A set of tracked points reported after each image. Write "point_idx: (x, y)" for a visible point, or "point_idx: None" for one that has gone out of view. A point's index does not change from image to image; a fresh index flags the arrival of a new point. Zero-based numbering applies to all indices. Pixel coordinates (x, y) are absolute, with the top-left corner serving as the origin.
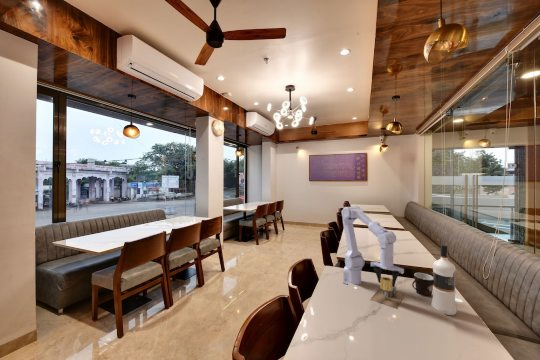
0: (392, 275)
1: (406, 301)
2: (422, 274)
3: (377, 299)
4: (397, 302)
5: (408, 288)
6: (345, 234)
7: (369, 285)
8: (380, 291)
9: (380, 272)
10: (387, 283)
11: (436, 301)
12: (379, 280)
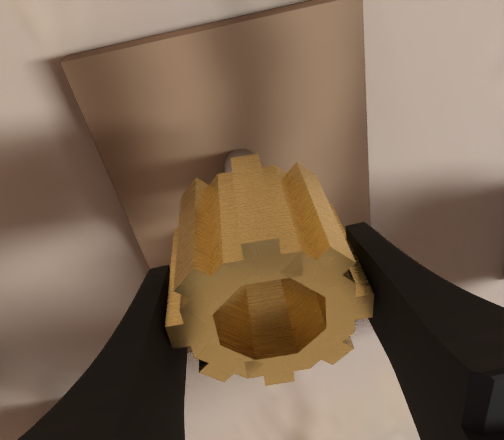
0: (115, 420)
1: (135, 282)
2: None
3: (301, 81)
4: (141, 189)
5: (224, 422)
6: None
7: (452, 281)
8: None
9: (413, 390)
10: (215, 242)
11: None
12: (362, 242)
